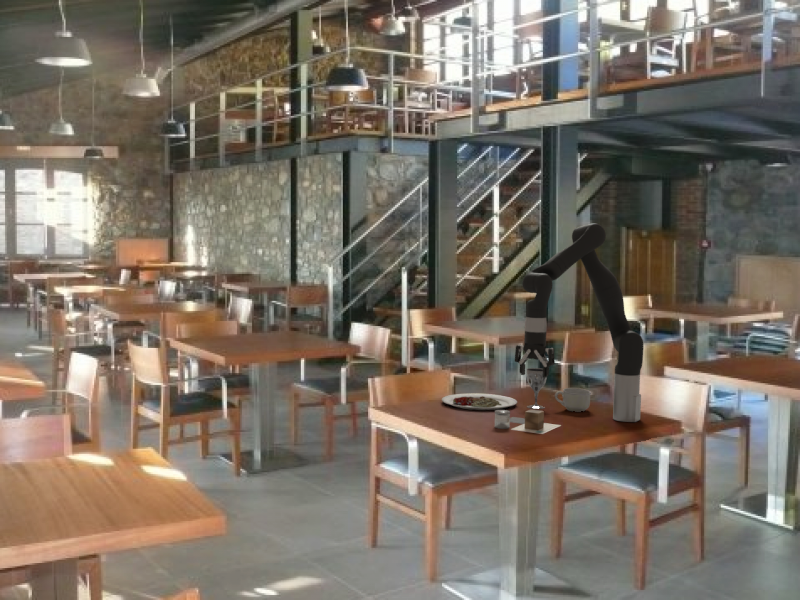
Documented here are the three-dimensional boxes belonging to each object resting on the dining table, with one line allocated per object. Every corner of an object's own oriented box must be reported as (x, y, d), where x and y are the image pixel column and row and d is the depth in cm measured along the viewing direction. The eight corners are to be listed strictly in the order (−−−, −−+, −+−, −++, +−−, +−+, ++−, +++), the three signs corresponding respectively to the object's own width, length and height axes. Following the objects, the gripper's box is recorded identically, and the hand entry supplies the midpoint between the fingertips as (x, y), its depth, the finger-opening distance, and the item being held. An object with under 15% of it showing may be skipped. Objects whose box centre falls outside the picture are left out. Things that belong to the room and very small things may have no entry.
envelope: (561, 426, 325) (561, 425, 325) (542, 435, 311) (542, 433, 311) (530, 422, 331) (530, 421, 331) (510, 430, 317) (510, 429, 317)
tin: (512, 428, 321) (512, 411, 321) (505, 430, 317) (506, 413, 316) (498, 426, 324) (498, 409, 324) (491, 428, 320) (492, 411, 319)
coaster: (535, 420, 334) (535, 419, 334) (524, 425, 326) (525, 424, 326) (512, 417, 338) (512, 416, 338) (502, 422, 331) (502, 420, 331)
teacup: (588, 408, 360) (589, 388, 359) (591, 413, 349) (592, 393, 348) (553, 407, 361) (553, 387, 360) (555, 412, 350) (555, 391, 350)
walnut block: (543, 427, 320) (544, 411, 320) (537, 430, 316) (538, 413, 315) (530, 426, 323) (530, 409, 322) (524, 428, 318) (525, 411, 318)
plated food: (532, 408, 359) (532, 399, 358) (469, 414, 344) (469, 406, 344) (488, 395, 385) (488, 387, 384) (427, 401, 370) (427, 393, 370)
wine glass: (547, 409, 356) (548, 371, 355) (526, 408, 356) (528, 370, 355) (544, 405, 364) (545, 368, 363) (524, 405, 364) (525, 367, 363)
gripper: (558, 331, 317) (557, 377, 318) (522, 327, 325) (520, 372, 326) (549, 332, 311) (547, 379, 312) (512, 329, 319) (510, 375, 320)
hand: (533, 376), depth 319 cm, fingers open, 8 cm apart
